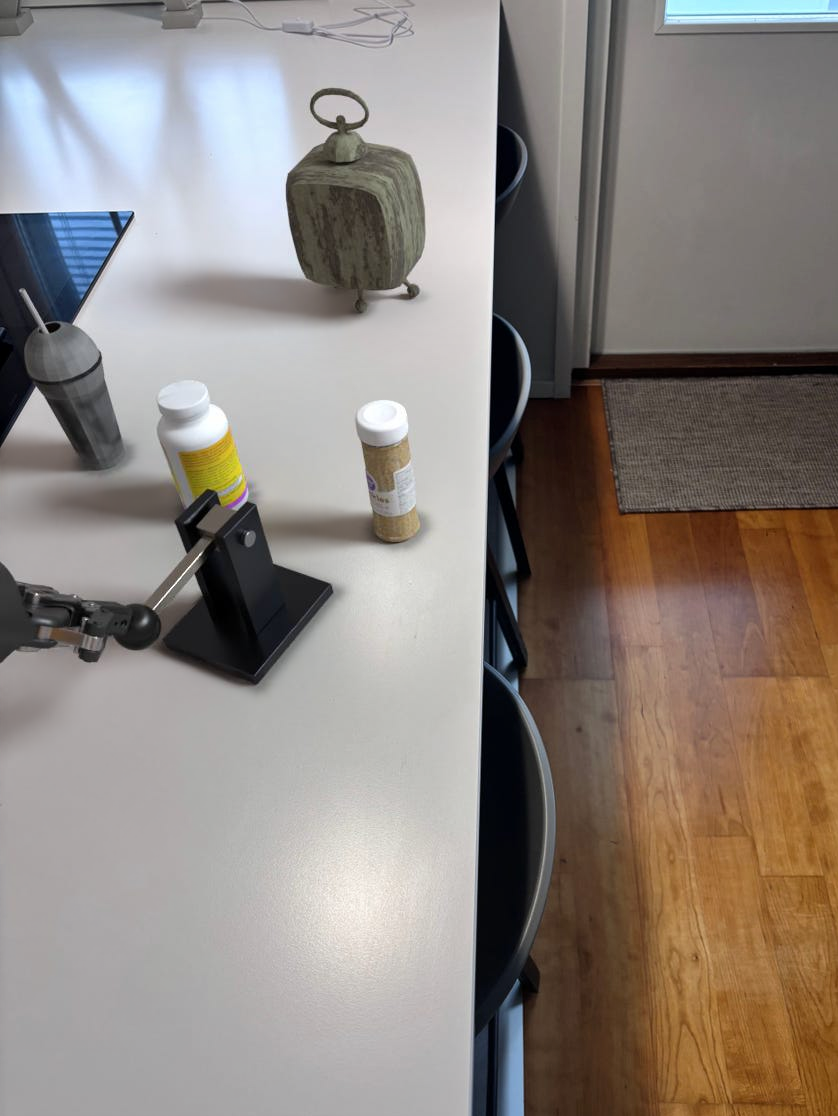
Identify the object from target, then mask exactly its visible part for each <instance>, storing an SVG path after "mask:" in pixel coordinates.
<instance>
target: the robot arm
mask: <svg viewBox="0 0 838 1116" xmlns="http://www.w3.org/2000/svg"><path fill="white" fill-rule="evenodd" d="M132 613H133V611H132V608H130V607H127V606H126V605H124V604H122V603H119V602H117V601H112V600H110V601H109V600H107V601H106V600H93V599H83V598H82V597H79V595H77V594H74V593H71V594H67V593H60V592H59V591H58V590H56V589H54V587H51V586H48V585H47V586H46V585H43V584H35V583H34V584H32V583H28V582H23V581H19V580H16V579H15V577H14V575H13V574H12V572H11V571H10V570H9V569H8V568H7V566H6V565H5V564H3V563H2V561H0V664H2V663H3V662H4V661H5V660H6V659H7V658H8V657H9V656H10V655H11V654H12V653H13V652H15V651H16V652H21V653H38V652H40V651H41V650H48V649H56V648H57V649H58V648H68V647H70V646H73V650H72V653H73V654H75V655H78V656H77V658H78V659H79V660H81V661H83V662H84V663H88V664H92V663H98V662H99V660H100V658H101V656H102V654H103V652H104V650H105V648H106V644H107V641H108V637H113V636H124V635H125V634H126V633H127V632H128V629H129V625H130V621H131V617H132Z"/></svg>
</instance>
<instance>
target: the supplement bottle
mask: <svg viewBox="0 0 838 1116" xmlns="http://www.w3.org/2000/svg"><path fill="white" fill-rule="evenodd" d="M155 399H156V404H157V407H158V411H159V413H160V414H161V415H162V416H160V418H159V420H158V422H157V425H156V435H157V439H158V442H159V444H160V446H161V449H162V451H163V454H164V458H165V460H166V464H167V465H168V467H169V471H170V475H171V476H172V480H173V483H174V486H175V488H176V490H177V493H178V496H179V498H180V501H181V504H182V506H183V508H184V511H185V510H186V509H187V508H188V507H189V506H190V505H191V504H192V503H193V502H194V501H195V500H196V499H197V498H198V497H199V496H200V495H201V494H202V493H203V492H204V491H205V490H206V489H211V490H214V491H216V492H217V494H218V497H219V500H220V503H221V506H224V507H227V508H230V509H233V510H236V511H238V510H239V508H240V507H241V506H242V505H243V504H244V503H245V502H247V501H248V498H249V488H248V484H247V481H246V477H245V474H244V471H243V467H242V464H241V461H240V458H239V455H238V451H237V448H236V444H235V440H234V438H233V435H232V431H231V428H230V425H229V421H228V418H227V415H226V414H225V412H224V411H223V410H222V409H221V408H220V407H218V406H217V405H216V404H213V403H211V397H210V393H209V390H208V389H207V386H206V385H205V384H203V382H200V381H197V380H192V379H191V380H190V379H188V380H187V379H184V380H178V381H175V382H172V383H169V384H167V385H166V386H164V387H163V388H161V389H160V390H159V391H158V393H157V394H156V398H155Z"/></svg>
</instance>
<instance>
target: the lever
mask: <svg viewBox="0 0 838 1116" xmlns="http://www.w3.org/2000/svg"><path fill="white" fill-rule="evenodd" d="M236 512H237V511H236V510H233V509H230V508H227V507H224V506H221V505H218V504H215V505H214V506H213V508H212V509H211V510H210V511H209V512H208V513H207V514H206V516H205V517H204V518H203V519H202V520H201V521H200V522H199V524H198V525H197V526H196V528H197V531H198V533H199V535H200V537H201V539H200V540H199V541H198V542H197V543H196V544H195V546H194V547H193V548H192V549H191V550H190V551H189V552H188V554H187V553H186V555H184V557H183V558H182V559H181V560H180V561H179V562H178V564H177V565H176V566H175V567H174V569H173V570H172V571H171V572H170V573H169V574H168V576H167V577H165V579H164V580H163V581H162V582H161V583H160V584H159V586H158V587H157V588H156V589H155V590H154V591H153V593H152V594H151V595H150V596H149V597H148V598H147V600H146V601H145V602H143V603H136V602H135V603H129V604H126V605H125V606H127V607H130V608H132V611H133V613H132V617H131V621H130V625H129V629H128V632H127V633H126V634H125V635H124V636H112V637H113V638H114V640H115V642H116V643H117V644H118V645H120V646H121V647H122V648H124V649H127V650H129V651H134V652H139V651H143V650H147V649H149V648H151V647H152V646H153V645H155V644H156V643H157V641H158V640H159V638H160V636H161V633H162V621H161V619H160V615H161V614H162V613H163V611H164V610H165V609H166V608H167V607H168V606H169V604H170V603H171V602H172V601H173V600H174V599H175V598H176V596H177V595H179V593H180V592H181V590H182V589H183V588H184V587H185V586H186V584H187V583H188V582H189V581H190V580H191V578H192V577H193V576H195V572H196V571H197V570H198V569H199V568H200V567H201V565H202V564H203V563H204V562H205V561H206V560H207V558H208V557H209V556H210V555H211V554H212V552H213V551H214V550H216V551H219V552H220V550H219V547H218V545H217V542H216V539H215V536H214V534H215V533H216V532H217V531H218V530H219V529H220V528H221V527H222V526H223V525H224V524H225V523H226V522H227V521H228V520H229V519H230V518H231V517H232V516H233V515H234V514H235V513H236Z"/></svg>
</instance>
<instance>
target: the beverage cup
mask: <svg viewBox="0 0 838 1116" xmlns="http://www.w3.org/2000/svg"><path fill="white" fill-rule="evenodd" d="M18 292H19V293H20V295H21V297H22V299H23V300H24V302H25V304H26V306H27V308H28V310H29V312H30V313H31V315H32V317H33V319H34V320H35V322H36V324H37V327H36V328H35V329H34V330H33V331H32V332H31V333H30V334H29V336H28V337H27V340H26V342H25V345H24V349H23V350H24V351H23V352H24V353H23V354H24V363H25V368H26V372H27V377H28V378H29V379H30V380H31V381H32V383H33V385H35V387H36V389H37V390H38V392H39V393H41V395H42V396H43V397H44V400H45V401H46V402H47V404H48V406H49V408H50V410H51V411H52V413H53V415H54V417H55V418H56V420H57V422H58V423H59V425H60V427H61V429H62V430H63V432H64V435H65V436H66V438H67V439H68V441H69V443H70V445H71V446H72V449H73V450H74V451H75V454H77V456H78V457H79V459H80V461H81V462H82V465H83V466H84V467H85V468H86V469H89V470H92V471H104V470H107V469H110V468H113V467H115V466H117V465H118V464H120V463H121V462H122V461H123V460H124V458H125V455H126V450H125V448H124V447H125V446H124V444H123V443H124V442H123V437H122V434H121V430H120V426H119V423H118V420H117V417H116V412H115V410H114V406H113V403H112V400H111V399H112V398H111V396H110V395H111V394H110V392H109V389H108V386H107V382H106V378H105V370H104V363H103V355H102V352H101V350H100V349H99V348H98V346H97V345H96V343H95V341H94V340H93V339H92V338H91V336H90V335H88V333H86V331H84V330H83V329H82V328H80V327H78V326H77V325H75V324H72V323H69V322H67V321H60V320H56V321H55V320H54V321H48V322H45V323H44V321H43V319H42V318H41V316H40V315H39V312H38V310H37V309H36V307H35V306H34V303H33V302H32V300H31V298H30V296H29V295H28V292H27V291H26V289H25V288H20V289H19V290H18Z"/></svg>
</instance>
